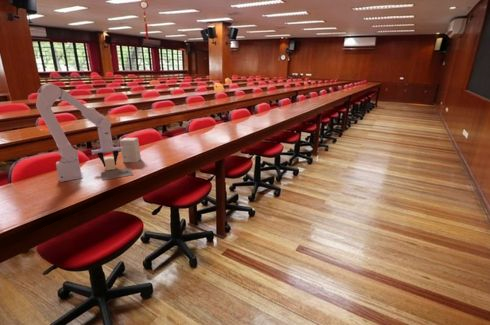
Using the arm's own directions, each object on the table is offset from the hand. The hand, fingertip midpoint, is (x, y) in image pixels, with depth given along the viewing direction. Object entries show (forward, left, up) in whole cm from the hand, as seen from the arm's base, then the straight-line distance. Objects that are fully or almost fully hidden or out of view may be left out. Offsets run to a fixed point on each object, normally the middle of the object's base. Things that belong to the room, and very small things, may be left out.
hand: (110, 165), depth 145 cm
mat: (+2, -10, -2) cm, 10 cm away
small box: (+12, +9, -2) cm, 15 cm away
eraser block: (0, 0, -1) cm, 1 cm away
